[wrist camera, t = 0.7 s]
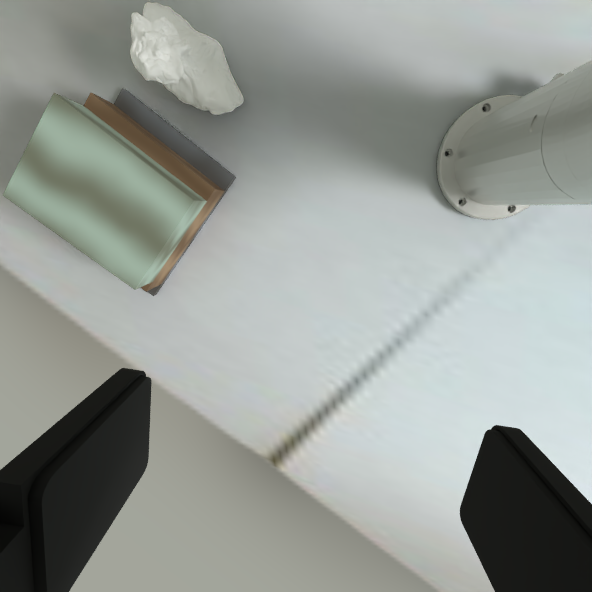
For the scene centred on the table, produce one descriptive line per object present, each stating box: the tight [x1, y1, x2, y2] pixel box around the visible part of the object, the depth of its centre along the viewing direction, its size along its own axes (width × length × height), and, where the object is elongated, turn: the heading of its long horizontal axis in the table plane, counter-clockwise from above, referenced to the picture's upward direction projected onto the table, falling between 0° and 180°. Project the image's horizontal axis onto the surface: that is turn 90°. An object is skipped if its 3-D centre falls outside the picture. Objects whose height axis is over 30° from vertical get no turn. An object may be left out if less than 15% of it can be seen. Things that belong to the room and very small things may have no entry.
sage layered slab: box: [3, 89, 236, 296], centre depth 36 cm, size 18×15×9 cm
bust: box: [130, 2, 244, 115], centre depth 33 cm, size 12×8×11 cm
